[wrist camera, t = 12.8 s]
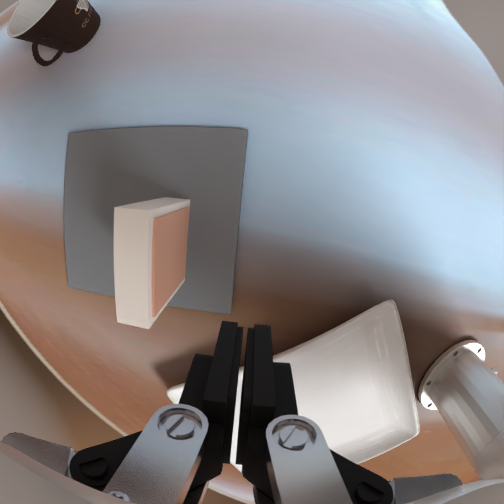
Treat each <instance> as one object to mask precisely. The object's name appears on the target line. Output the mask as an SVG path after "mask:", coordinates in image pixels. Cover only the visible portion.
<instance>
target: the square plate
mask: <svg viewBox="0 0 504 504" xmlns="http://www.w3.org/2000/svg"><path fill="white" fill-rule="evenodd" d="M273 362H284V363H290V365H291V370H292V376H293V383H294V389H295V396H296V402H297V409H298V415H299V416H304V417H306V418H308V419H311V420H312V421H314V422H315V423H316V424H317V425H318V426H319V428H320V429H321V431H322V433H323V435H324V438H325V440H326V442H327V445H328V447H329V449H331V450H333V451H334V452H336V453H338V454H340V455H341V456H343V457H345V458H347V459H348V460H350V461H352V462H354V463H356V464H359V463H362V462H364V461H366V460H369V459H371V458H374V457H376V456H378V455H380V454H382V453H384V452H387V451H389V450H391V449H393V448H395V447H397V446H399V445H400V444H402V443H404V442H406V441H408V440H410V439H412V438H413V437H415V436H417V435H418V434H419V431H420V427H419V419H418V412H417V406H416V400H415V394H414V387H413V382H412V376H411V370H410V364H409V358H408V353H407V347H406V342H405V337H404V332H403V328H402V324H401V319H400V316H399V312H398V309H397V306H396V303H395V301H393V300H392V299H391V300H387V301H384V302H382V303H380V304H378V305H376V306H374V307H372V308H370V309H368V310H366V311H365V312H363V313H361V314H359V315H357V316H355V317H354V318H352V319H350V320H348V321H347V322H345V323H343V324H341V325H339V326H337V327H335V328H333V329H331V330H329V331H327V332H325V333H323V334H321V335H319V336H317V337H315V338H313V339H311V340H309V341H307V342H304V343H302V344H300V345H298V346H295V347H293V348H291V349H288V350H286V351H284V352H281V353H279V354H277V355H274V356H273ZM243 371H244V366H243V367H240V368H239V376H238V386H237V396H236V406H235V416H234V426H233V436H232V446H231V456H230V463H231V464H233V465H234V466H235V467H236V468H237V469H238V470H239V471H240V472H241V473H242V465H238V464H235V463H236V451H237V438H238V426H239V414H240V402H241V390H242V380H243ZM184 385H185V383H182V384H179V385H176V386H173V387H171V388H169V389H168V390H167V392H166V393H167V395H168V397H169V398H170V400H171V401H172V402H173V403H174V404H178V403H179V400H180V397H181V394H182V391H183V388H184Z"/></svg>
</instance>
